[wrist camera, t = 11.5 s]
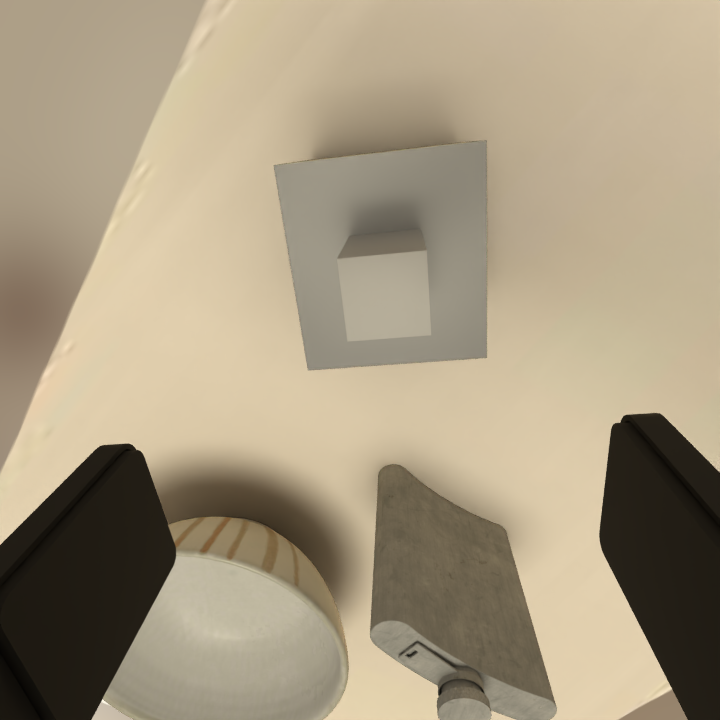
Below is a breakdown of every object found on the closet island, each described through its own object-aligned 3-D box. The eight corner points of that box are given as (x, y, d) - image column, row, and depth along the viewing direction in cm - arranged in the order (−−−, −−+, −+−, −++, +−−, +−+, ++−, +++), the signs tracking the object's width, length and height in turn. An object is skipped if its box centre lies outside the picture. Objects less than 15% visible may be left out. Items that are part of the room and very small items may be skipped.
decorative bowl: (283, 427, 47) (249, 511, 36) (396, 604, 56) (396, 715, 45) (79, 509, 54) (-2, 603, 43) (210, 657, 63) (171, 766, 52)
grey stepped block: (457, 142, 36) (512, 138, 19) (461, 298, 41) (507, 406, 24) (311, 159, 37) (240, 170, 20) (332, 309, 42) (288, 419, 25)
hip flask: (512, 532, 51) (578, 748, 33) (487, 555, 52) (537, 773, 34) (390, 459, 48) (386, 649, 30) (367, 485, 50) (351, 682, 31)
